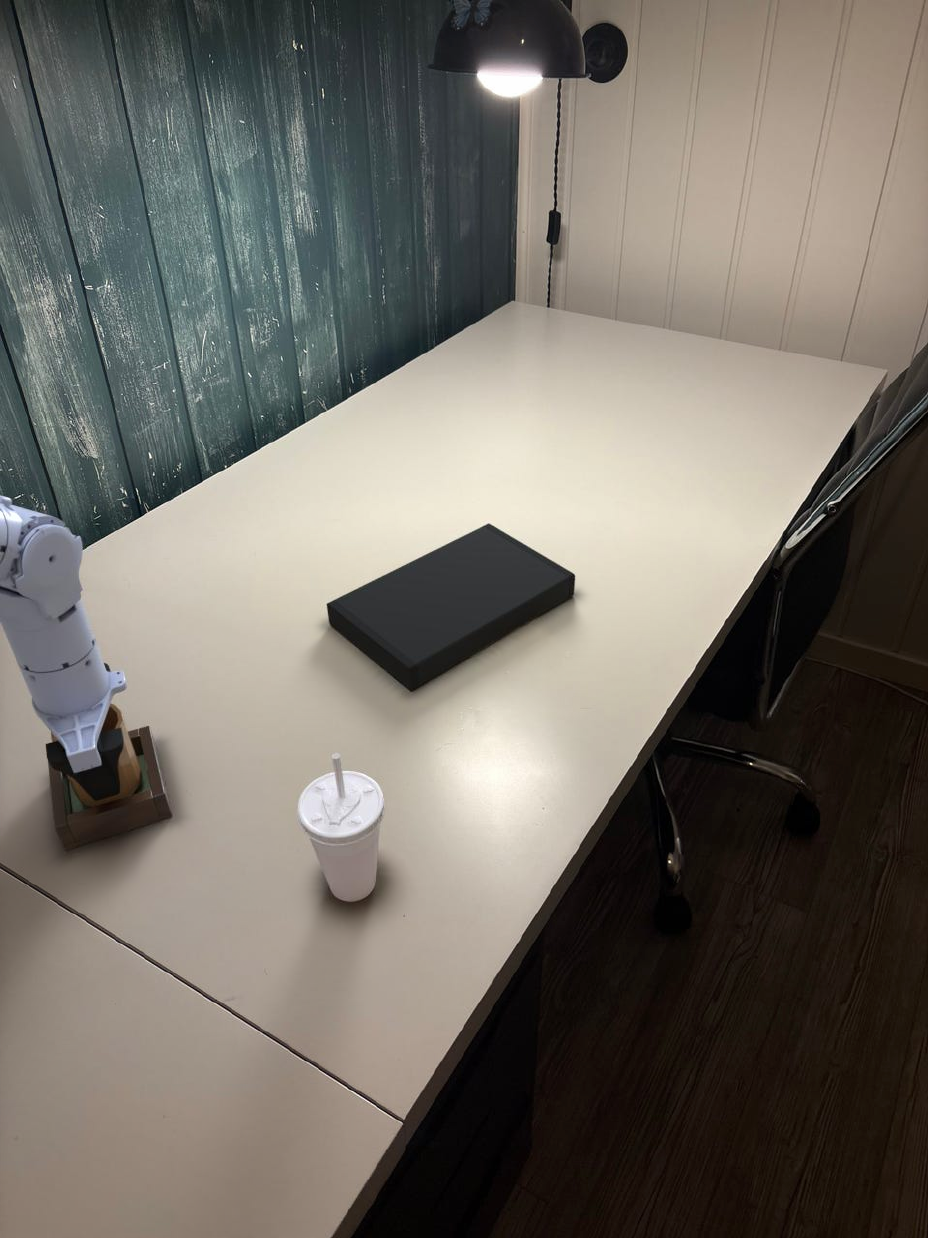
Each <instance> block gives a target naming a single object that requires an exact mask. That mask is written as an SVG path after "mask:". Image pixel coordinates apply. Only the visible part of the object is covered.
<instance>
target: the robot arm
mask: <svg viewBox="0 0 928 1238" xmlns="http://www.w3.org/2000/svg"><path fill="white" fill-rule="evenodd" d="M82 562H83V541H82V537H81V535H75V534H73V533H72V532H71V529H70V528H69V527H67V526H66V523H65V522H64V521H63V520H62V519H60V518H58V517H56V516H53V515H49V514H46V513H42V512H38V511H35V510H31V509H28V508H25V507H21V506H17V505H15V504H13V500H12V499H11V498H10V497H7V496H3V495H0V625H1V627H2V629H3V632H4V635H5V637H6V639H7V642H8V644H9V646H10V649H11V651H12V653H13V655H14V658H15V661H16V664H17V666H18V668H19V670H20V672H21V675H22V677H23V680H24V682H25V684H26V687H27V689H28V691H29V694H30V696H31V705H32V708H33V710H34V712H35V715H36V716H37V717H38V719H40V720H41V722H42V724H44V725H45V727H46V728H47V729H48V730H49V732H50V733H51V732H52V734H53V735H54V736H55V737H56V738H57V740H58V741H54V742H52V741H51V742H48V743H45V752H46V760H47V763H48V762H49V764H50V765H51V767H52V768H53V769H54V770H57V771H60V772H63V773H65V774H67V775H68V776H70V777H72V778H73V779H74V780H75V781H76V782H77V783H78V784H79V785H80V786H81V787H82V788H83V789H84V790H85V792H86V793H87V794H88V795H89V796H90V797H91V798H92V799H93V800H94V801H98V800H102V799H105V798H108V797H111V796H115V795H118V794H119V793H120V778H119V770H118V762H119V757H120V754H121V752H122V750H123V745H124V738H123V733H122V728H121V727H120V728H116V729H113V730H109V731H106V732H102V733H100V732H101V729H102V726H103V723H104V720H105V718H106V715H107V712H108V709H109V706H110V703H111V704H112V700H113V698H114V696H115V695H116V694H119V693H122V692H125V691H126V690H127V688H128V683H127V679H126V675H125V673H124V671H123V670H120V669H118V670H114V671H111V668H110V665H109V664H108V663H106V662H104V660H103V656H102V654H101V651H100V648H99V646H98V643H97V640H96V637H95V633H94V630H93V628H92V626H91V622H90V620H89V616H88V614H87V611H86V608H85V606H84V602H83V599H82V593H81V592H82V591H84V590H83V585H82V583H81V580H80V568H81V565H82Z"/></svg>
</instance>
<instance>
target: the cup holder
mask: <svg viewBox="0 0 928 1238" xmlns="http://www.w3.org/2000/svg"><path fill="white" fill-rule="evenodd" d="M128 732H129V734H130V737H131V740H132V743H133V746H134V749H135V752H136V755H137V758H138V760H139V763H140V767H141V771H142V780H141V783H140V785H139V787H138V788H137V790H136V791H135V792H134V793H133V794H132V795H131V796H128V797H124V798H121V799H118V800H115V801H111V802H108V803H105V804H102V805H99V806H95V807H90V806H87V805H85V804H83V803H81V802H80V801H79V800H78V799H77V797H76V795H75V794H74V792H73V789H72V787H71V784H70V782H69V780H68V777H67V775H66V774H65V773H63V772H60V771H57V770H54V769H53V768H52V767H51V765H50V764H49V762H48V761H47V766H48V775H49V776H48V777H49V786H50V796H51V806H52V817H53V826H54V830H55V832H56V834H57V836H58V839H59V840H60V843H61V846H62V847H63V849H64V851H66V852H67V851H69V850H73V849H75V848H78V847H82V846H84V845H88V844H91V843H95V842H97V841H100V840H104V839H107V838H111V837H113V836H116V835H120V834H122V833H125V832H128V831H132V830H135V829H139V828H142V827H144V826H148V825H150V824H153V823H157V822H159V821H163V820H166V819H169V818H172V817H173V812H172V808H171V803H170V798H169V795H168V789H167V786H166V781H165V779H164V773H163V769H162V765H161V760H160V756H159V751H158V748H157V744H156V741H155V738H154V735H153V732H152V729H151V726H150V725H146V726H142V727H139V728H135V729H131V730H128Z"/></svg>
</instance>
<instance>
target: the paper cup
mask: <svg viewBox="0 0 928 1238" xmlns="http://www.w3.org/2000/svg"><path fill="white" fill-rule="evenodd" d="M120 727H121V728H122V733H123V738H124V745H123V750H122V752H121V754H120V757H119V762H118V770H119V778H120V793H119V794H118V795H115V796H111V797H108V798H105V799H102V800H98V801H94V800H93V799H92V798H91V797H90V796H89V795H88V794H87V793H86V792H85V790H84V789H83V788H82V787H81V786H80V785H79V784H78V783H77V782H76V781H75V780H74V779H73V778H72V777H70V776H68V775H67V774H66V775H67V777H68V780H69V782H70V784H71V787H72V789H73V792H74V794H75V795H76V797H77V799H78V800H79V801H80V802H81V803H83V804H85V805H87V806H90V807H95V806H99V805H102V804H105V803H108V802H111V801H115V800H118V799H121V798H124V797H128V796H131V795H132V794H133V793H134V792H135V791H136V790H137V788H138V787H139V785H140V783H141V780H142V771H141V767H140V763H139V760H138V758H137V755H136V752H135V749H134V746H133V743H132V740H131V737H130V734H129V732H128V731H129V729H128V725H127V723H126V721H125V717H124V714H123V712H122V710H121V709H120V708H119V707H118V706H117V705H116V704H114V703H112V702H111V703H110V706H109V709H108V712H107V715H106V718H105V720H104V723H103V726H102V729H101V732H100V733H102V732H106V731H109V730H113V729H116V728H120ZM50 739H51V742H54V741H58V740H57V738H56V737H55V736H54V735H53V734H52V732H51V731H50Z"/></svg>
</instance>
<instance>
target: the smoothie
mask: <svg viewBox="0 0 928 1238" xmlns="http://www.w3.org/2000/svg"><path fill="white" fill-rule="evenodd" d="M331 755H332V756H331V758H332V765H333V772H330V773H326V774H324V775H323V774H322V775H321V776H320V777H318V778H316V779H314V780H313V781H311V782H310V783H309V784H308V785H307V786H306V787H305V788H304V790H303V791H302V793H301V794H300V796H299V798H298V802H297V818H298V819H297V820H298V823H299V827H300V829H301V830H302V832H303V833H304V834H305V835H306V836H307V837H308V838H309V840H310V843H311V846H312V847H313V850H314V852H315V855H316V857H317V860H318V862H319V865H320V867H321V870H322V872H323V875H324V877H325V879H326V882H327V885H328V887H329V890H330V892H331V894H332V895H333V896H334V897H335V898H337V899H338V900H340V901H343V902H348V903H352V902H358V901H362V900H363V899H365V898H366V897H368V896H369V895H370V894H371V893H372V891H374V888H375V886H376V883H377V870H378V855H379V843H380V842H379V841H380V828H381V824H382V821H383V819H384V816H385V813H386V803H385V800H384V794H383V790H382V789H381V787H380V785H379V783H377V782H376V781H375V780H374V779H373V778H372V777H371V776H369V775H367V774H364V773H362V772H358V771H352V770H343V766H342V759H341V754H340V753H339V752H337V753H336V752H335V753H333V754H331Z"/></svg>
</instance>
